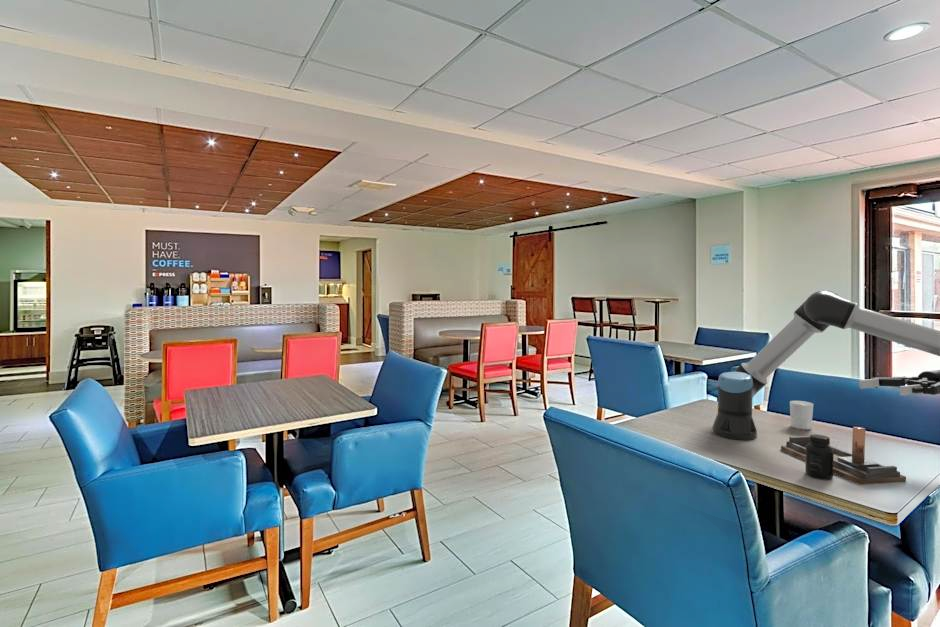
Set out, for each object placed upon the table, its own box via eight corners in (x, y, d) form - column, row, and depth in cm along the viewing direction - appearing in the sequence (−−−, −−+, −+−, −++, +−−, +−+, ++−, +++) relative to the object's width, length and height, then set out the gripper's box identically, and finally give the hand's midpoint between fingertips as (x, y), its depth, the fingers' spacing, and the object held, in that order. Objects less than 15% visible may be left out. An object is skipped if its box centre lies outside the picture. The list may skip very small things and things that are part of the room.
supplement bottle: (839, 479, 142) (840, 439, 142) (817, 480, 142) (818, 440, 141) (820, 470, 149) (821, 432, 149) (799, 471, 149) (800, 433, 148)
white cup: (817, 430, 191) (818, 405, 191) (797, 430, 192) (798, 405, 191) (804, 424, 199) (804, 400, 199) (784, 424, 199) (785, 400, 199)
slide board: (905, 481, 140) (906, 466, 140) (859, 484, 139) (859, 469, 139) (820, 447, 170) (820, 435, 170) (781, 450, 169) (781, 437, 168)
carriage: (879, 470, 144) (880, 431, 144) (857, 471, 144) (859, 432, 143) (857, 462, 151) (859, 424, 151) (837, 463, 150) (838, 425, 150)
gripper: (984, 400, 144) (921, 406, 142) (900, 387, 169) (846, 392, 167) (982, 375, 144) (919, 381, 142) (899, 366, 169) (844, 371, 167)
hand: (879, 387), depth 154 cm, fingers open, 13 cm apart
